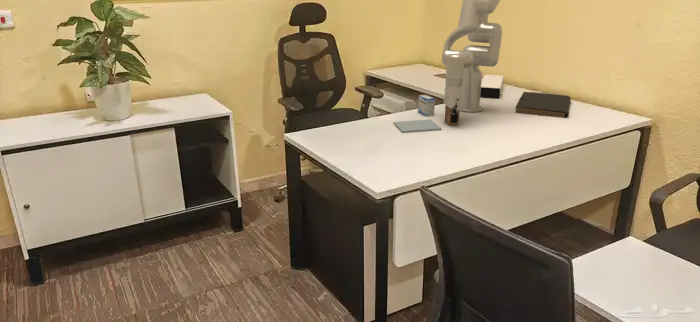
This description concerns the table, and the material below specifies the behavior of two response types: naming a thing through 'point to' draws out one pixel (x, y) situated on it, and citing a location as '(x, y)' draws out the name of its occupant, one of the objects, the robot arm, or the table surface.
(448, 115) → the walnut block
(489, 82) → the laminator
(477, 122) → the table surface
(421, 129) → the slate board
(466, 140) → the table surface
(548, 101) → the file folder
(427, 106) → the medicine box
